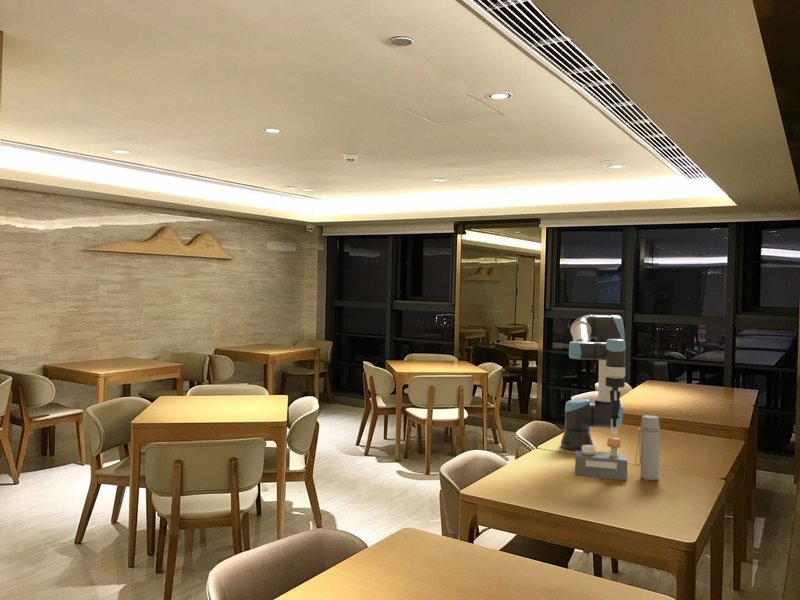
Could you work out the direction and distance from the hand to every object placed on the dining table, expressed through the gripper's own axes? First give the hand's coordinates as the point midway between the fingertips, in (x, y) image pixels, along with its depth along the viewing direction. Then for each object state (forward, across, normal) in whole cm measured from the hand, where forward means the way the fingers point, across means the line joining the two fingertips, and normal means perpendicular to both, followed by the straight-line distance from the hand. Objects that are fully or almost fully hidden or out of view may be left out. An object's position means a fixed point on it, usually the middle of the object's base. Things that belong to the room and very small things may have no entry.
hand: (614, 434), depth 262 cm
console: (+17, 0, -5) cm, 18 cm away
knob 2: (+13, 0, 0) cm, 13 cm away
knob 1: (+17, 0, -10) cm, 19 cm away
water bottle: (+17, -1, +13) cm, 22 cm away
